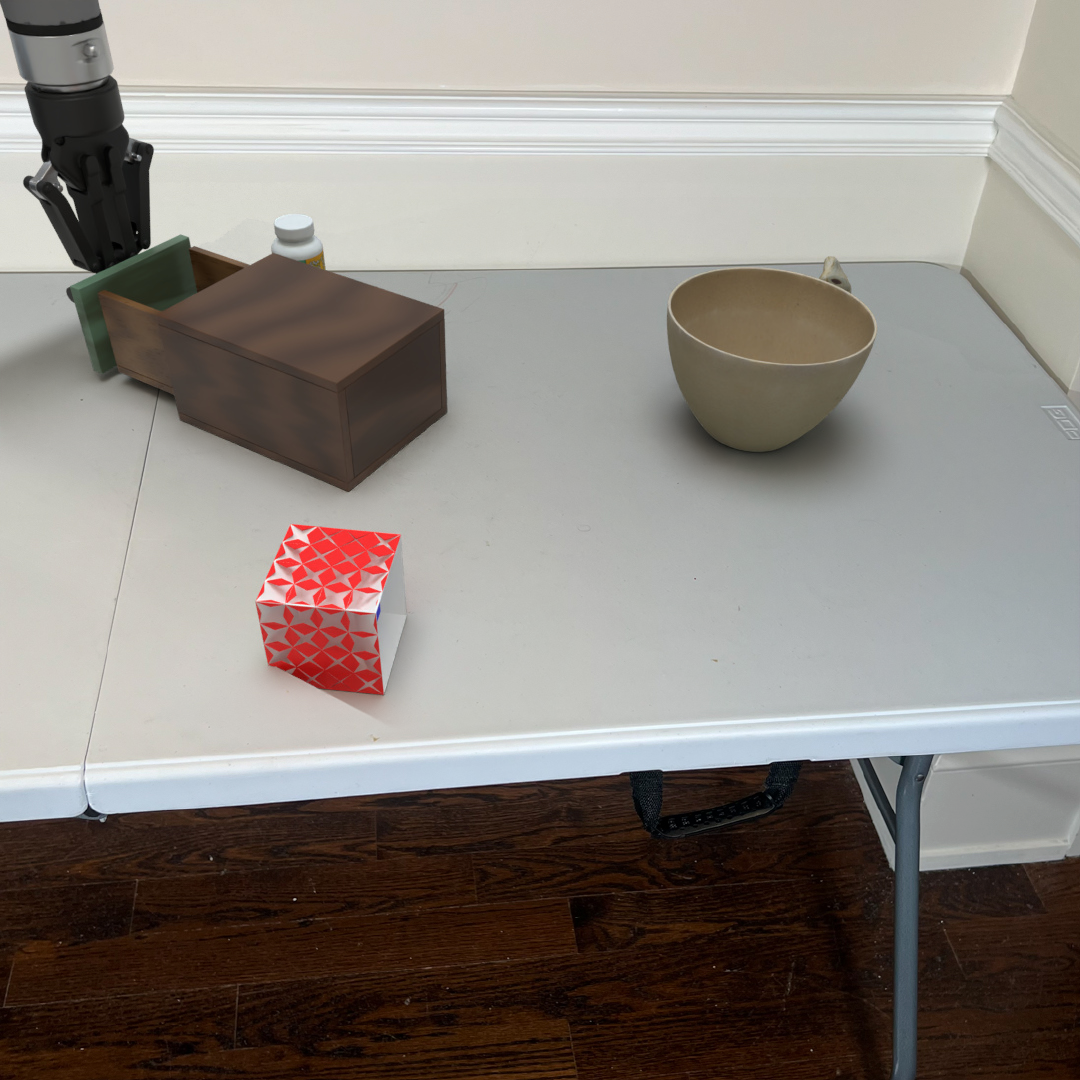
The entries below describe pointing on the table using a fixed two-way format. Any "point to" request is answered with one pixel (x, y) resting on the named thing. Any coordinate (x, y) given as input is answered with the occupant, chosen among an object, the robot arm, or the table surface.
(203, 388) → the cabinet
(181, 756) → the table surface
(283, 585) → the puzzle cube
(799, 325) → the beige bowl
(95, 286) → the drawer
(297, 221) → the supplement bottle
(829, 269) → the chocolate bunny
